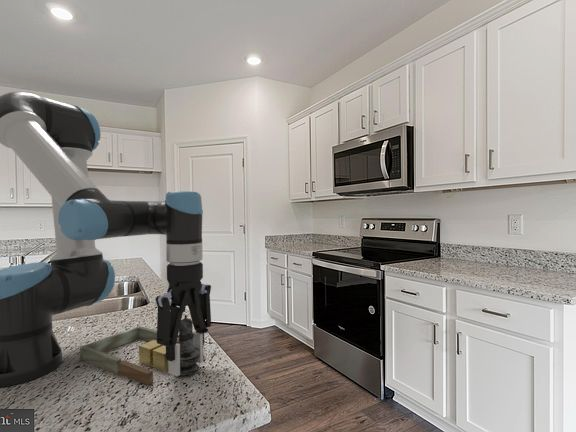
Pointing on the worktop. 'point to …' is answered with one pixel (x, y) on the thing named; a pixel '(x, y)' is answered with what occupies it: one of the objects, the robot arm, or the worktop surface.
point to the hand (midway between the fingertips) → (186, 367)
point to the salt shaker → (187, 348)
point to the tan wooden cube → (160, 358)
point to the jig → (113, 364)
